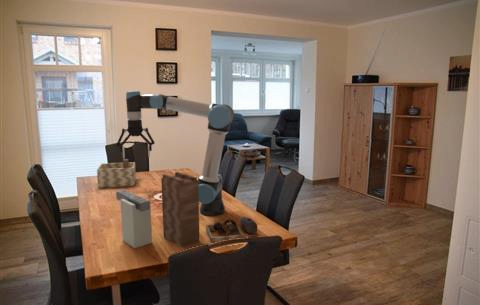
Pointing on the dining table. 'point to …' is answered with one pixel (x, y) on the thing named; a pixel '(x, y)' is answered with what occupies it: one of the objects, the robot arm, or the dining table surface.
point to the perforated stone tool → (248, 225)
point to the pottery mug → (225, 227)
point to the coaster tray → (217, 239)
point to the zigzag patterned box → (116, 175)
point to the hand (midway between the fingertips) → (136, 157)
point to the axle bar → (134, 200)
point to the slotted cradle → (135, 225)
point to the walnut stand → (180, 208)
